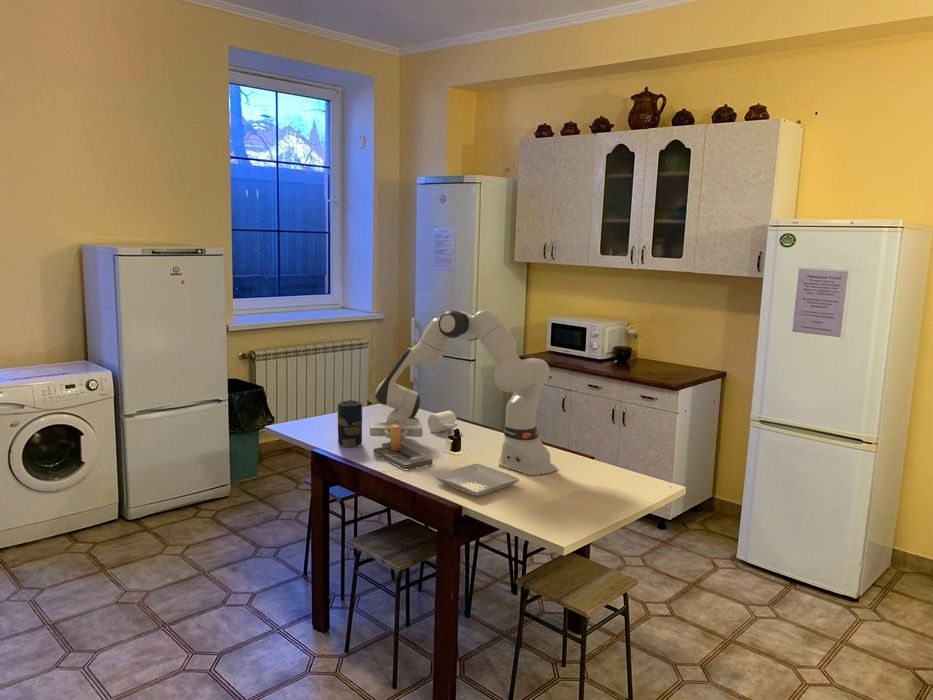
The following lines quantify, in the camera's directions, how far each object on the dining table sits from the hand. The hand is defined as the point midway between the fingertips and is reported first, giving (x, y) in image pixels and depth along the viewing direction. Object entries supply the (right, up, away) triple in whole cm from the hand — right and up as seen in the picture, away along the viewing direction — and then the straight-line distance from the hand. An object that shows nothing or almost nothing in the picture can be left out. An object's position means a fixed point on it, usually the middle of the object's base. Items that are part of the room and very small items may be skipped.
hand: (395, 435), depth 268 cm
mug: (+18, -3, +36) cm, 40 cm away
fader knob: (0, -5, +2) cm, 6 cm away
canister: (-20, -5, +14) cm, 25 cm away
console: (+3, -9, -2) cm, 9 cm away
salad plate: (+30, -14, -25) cm, 42 cm away
